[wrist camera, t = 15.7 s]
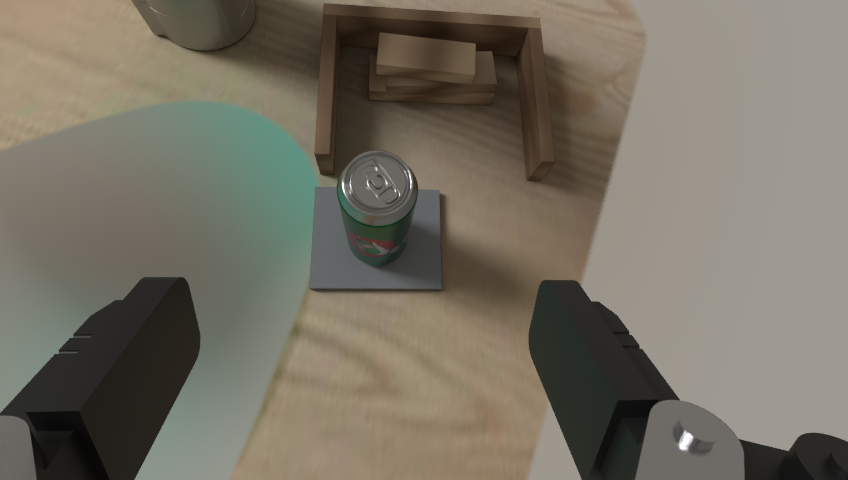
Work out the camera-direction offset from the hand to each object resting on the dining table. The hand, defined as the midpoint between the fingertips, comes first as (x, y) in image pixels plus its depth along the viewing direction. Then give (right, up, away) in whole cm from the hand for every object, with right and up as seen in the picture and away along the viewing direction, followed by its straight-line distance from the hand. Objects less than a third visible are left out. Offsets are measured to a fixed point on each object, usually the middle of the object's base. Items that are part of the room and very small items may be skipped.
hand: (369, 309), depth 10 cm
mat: (-3, +2, +28) cm, 28 cm away
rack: (+2, +14, +32) cm, 35 cm away
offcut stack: (+2, +17, +33) cm, 37 cm away
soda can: (-3, +2, +28) cm, 28 cm away
